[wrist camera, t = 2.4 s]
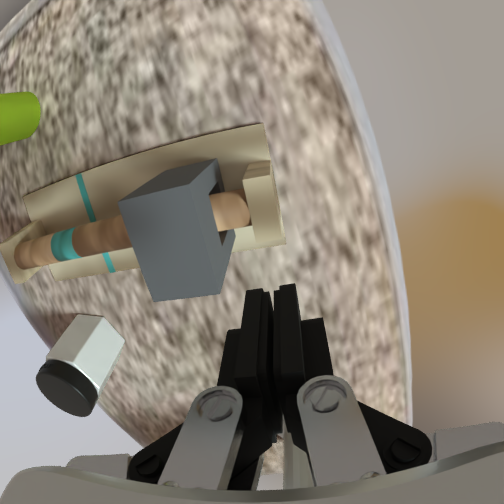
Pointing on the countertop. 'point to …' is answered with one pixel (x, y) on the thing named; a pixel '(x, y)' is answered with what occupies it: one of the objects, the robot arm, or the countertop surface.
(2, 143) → the soap dispenser
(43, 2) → the countertop surface
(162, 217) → the collar
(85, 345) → the jar
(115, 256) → the pipe rig
